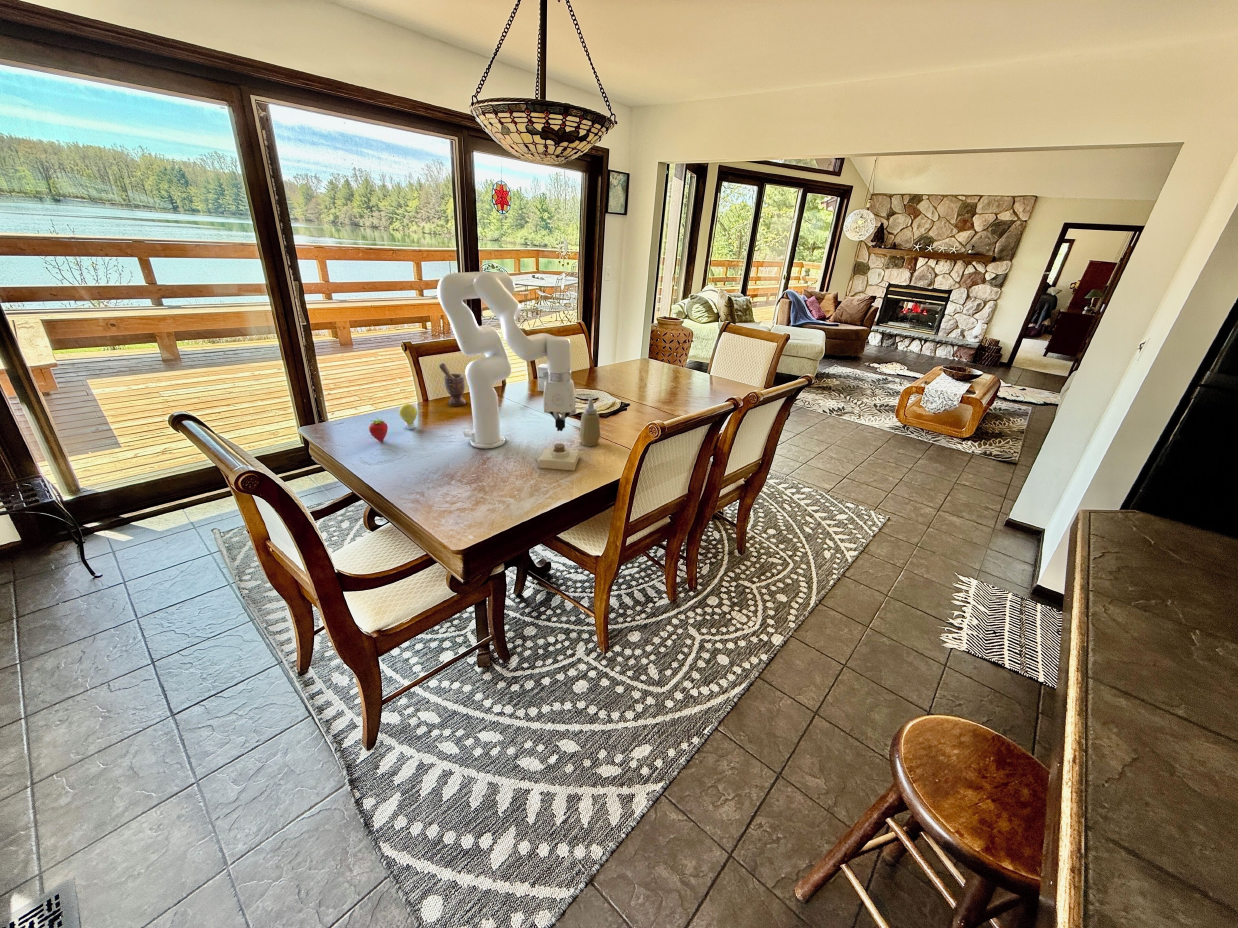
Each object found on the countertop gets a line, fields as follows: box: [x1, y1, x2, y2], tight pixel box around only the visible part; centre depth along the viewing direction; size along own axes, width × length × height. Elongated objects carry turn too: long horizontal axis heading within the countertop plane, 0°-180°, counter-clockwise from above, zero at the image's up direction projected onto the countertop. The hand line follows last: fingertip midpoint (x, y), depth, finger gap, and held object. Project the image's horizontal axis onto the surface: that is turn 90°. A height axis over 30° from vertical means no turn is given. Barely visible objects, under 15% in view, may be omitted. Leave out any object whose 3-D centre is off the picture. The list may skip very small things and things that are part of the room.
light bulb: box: [398, 403, 418, 430], centre depth 188 cm, size 7×7×10 cm
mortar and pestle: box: [438, 362, 467, 407], centre depth 214 cm, size 12×9×20 cm
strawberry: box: [368, 417, 389, 443], centre depth 175 cm, size 6×8×10 cm
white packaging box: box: [537, 363, 547, 392], centre depth 242 cm, size 7×7×13 cm
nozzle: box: [553, 443, 566, 452], centre depth 166 cm, size 4×4×2 cm
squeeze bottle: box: [579, 397, 601, 447], centre depth 181 cm, size 8×8×18 cm
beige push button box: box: [538, 446, 580, 471], centre depth 167 cm, size 12×10×5 cm
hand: (560, 429), depth 162 cm, fingers closed
